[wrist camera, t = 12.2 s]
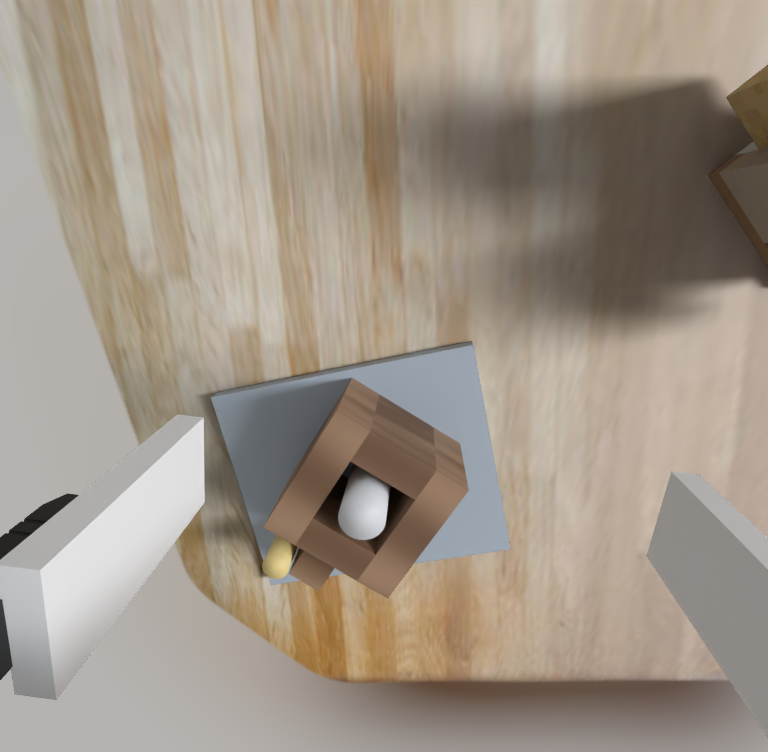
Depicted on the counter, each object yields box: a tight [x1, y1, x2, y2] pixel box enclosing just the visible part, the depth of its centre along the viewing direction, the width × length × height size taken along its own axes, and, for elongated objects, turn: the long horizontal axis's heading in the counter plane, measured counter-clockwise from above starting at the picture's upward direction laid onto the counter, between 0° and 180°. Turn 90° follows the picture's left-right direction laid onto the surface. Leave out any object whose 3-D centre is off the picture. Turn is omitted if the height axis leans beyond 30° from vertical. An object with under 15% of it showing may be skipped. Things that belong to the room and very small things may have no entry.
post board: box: [211, 341, 510, 585], centre depth 35 cm, size 16×19×9 cm
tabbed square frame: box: [264, 378, 469, 598], centre depth 35 cm, size 13×9×7 cm
